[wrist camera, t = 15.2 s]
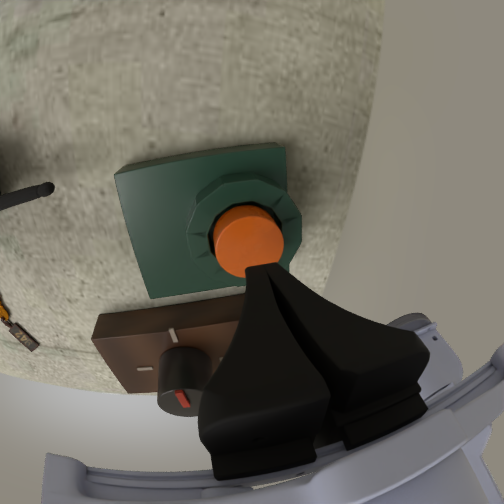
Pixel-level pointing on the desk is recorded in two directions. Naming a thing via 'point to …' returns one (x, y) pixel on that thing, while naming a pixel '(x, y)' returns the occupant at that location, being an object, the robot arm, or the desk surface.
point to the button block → (201, 212)
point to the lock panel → (164, 337)
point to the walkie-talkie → (25, 195)
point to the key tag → (17, 331)
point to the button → (246, 239)
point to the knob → (182, 380)
